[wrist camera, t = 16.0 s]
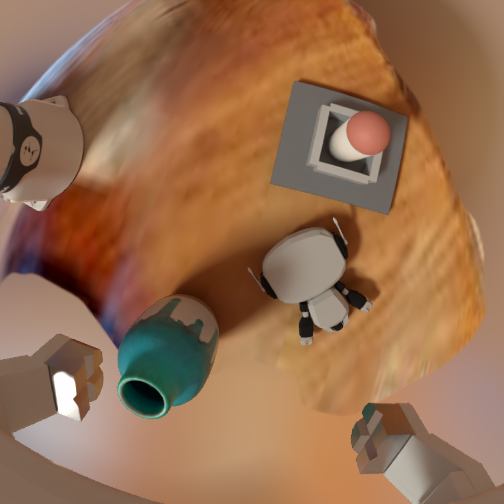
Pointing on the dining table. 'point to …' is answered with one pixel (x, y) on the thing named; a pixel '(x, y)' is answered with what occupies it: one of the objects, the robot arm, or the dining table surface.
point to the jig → (320, 161)
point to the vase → (167, 355)
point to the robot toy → (311, 279)
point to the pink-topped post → (359, 137)
